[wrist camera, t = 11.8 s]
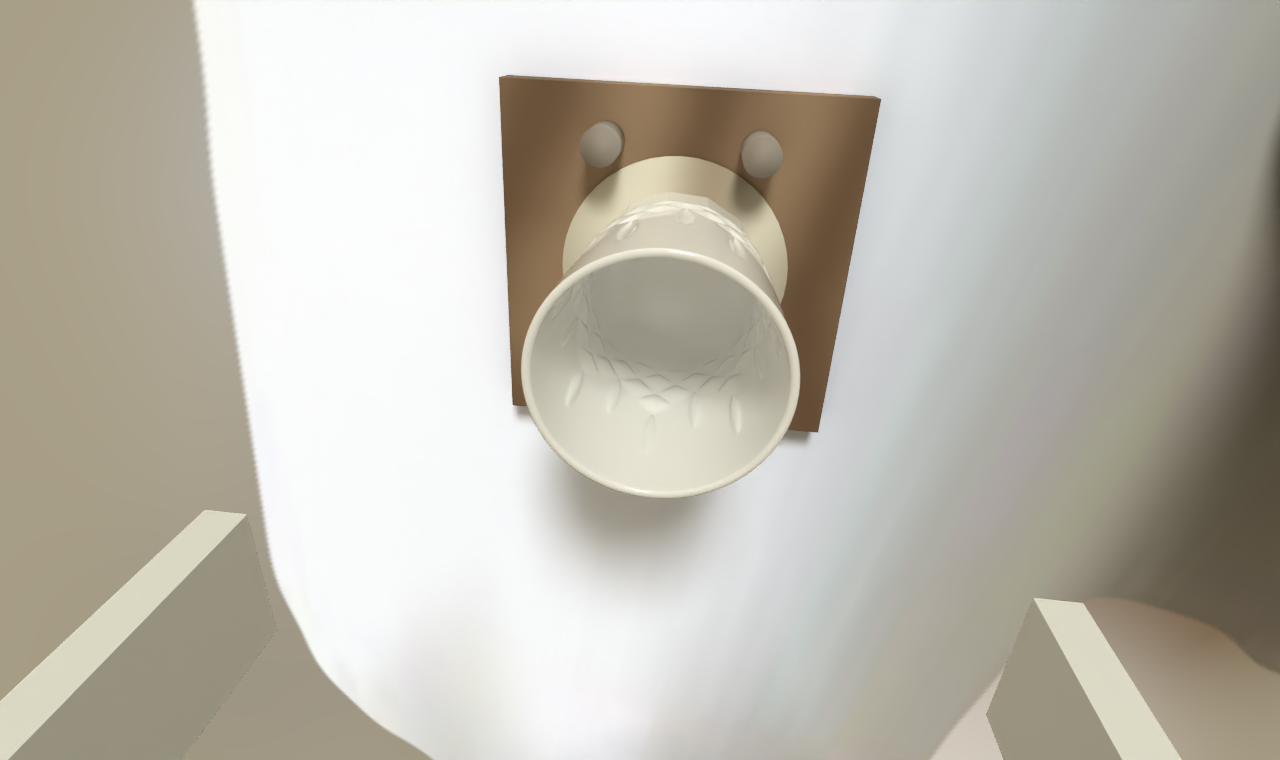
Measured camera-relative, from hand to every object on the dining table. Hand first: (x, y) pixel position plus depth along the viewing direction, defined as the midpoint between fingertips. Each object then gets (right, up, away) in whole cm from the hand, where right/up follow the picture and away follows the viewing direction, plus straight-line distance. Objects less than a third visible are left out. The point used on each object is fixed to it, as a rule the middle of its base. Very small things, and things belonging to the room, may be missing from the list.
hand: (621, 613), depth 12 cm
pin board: (+2, +9, +18) cm, 20 cm away
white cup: (+2, +8, +17) cm, 19 cm away
